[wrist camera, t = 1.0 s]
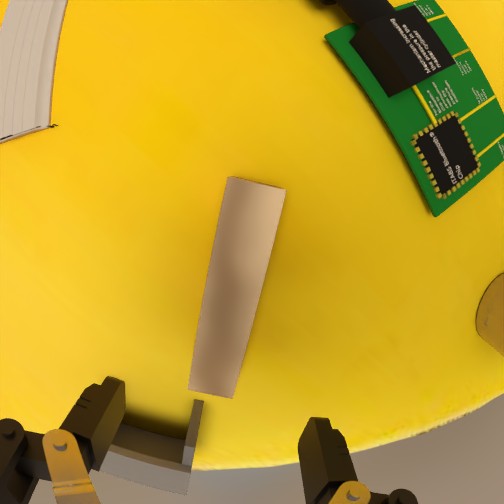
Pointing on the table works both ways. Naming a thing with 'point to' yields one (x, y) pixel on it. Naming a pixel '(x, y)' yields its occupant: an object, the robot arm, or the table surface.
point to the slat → (234, 283)
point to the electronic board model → (425, 92)
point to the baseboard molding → (28, 65)
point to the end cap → (154, 456)
